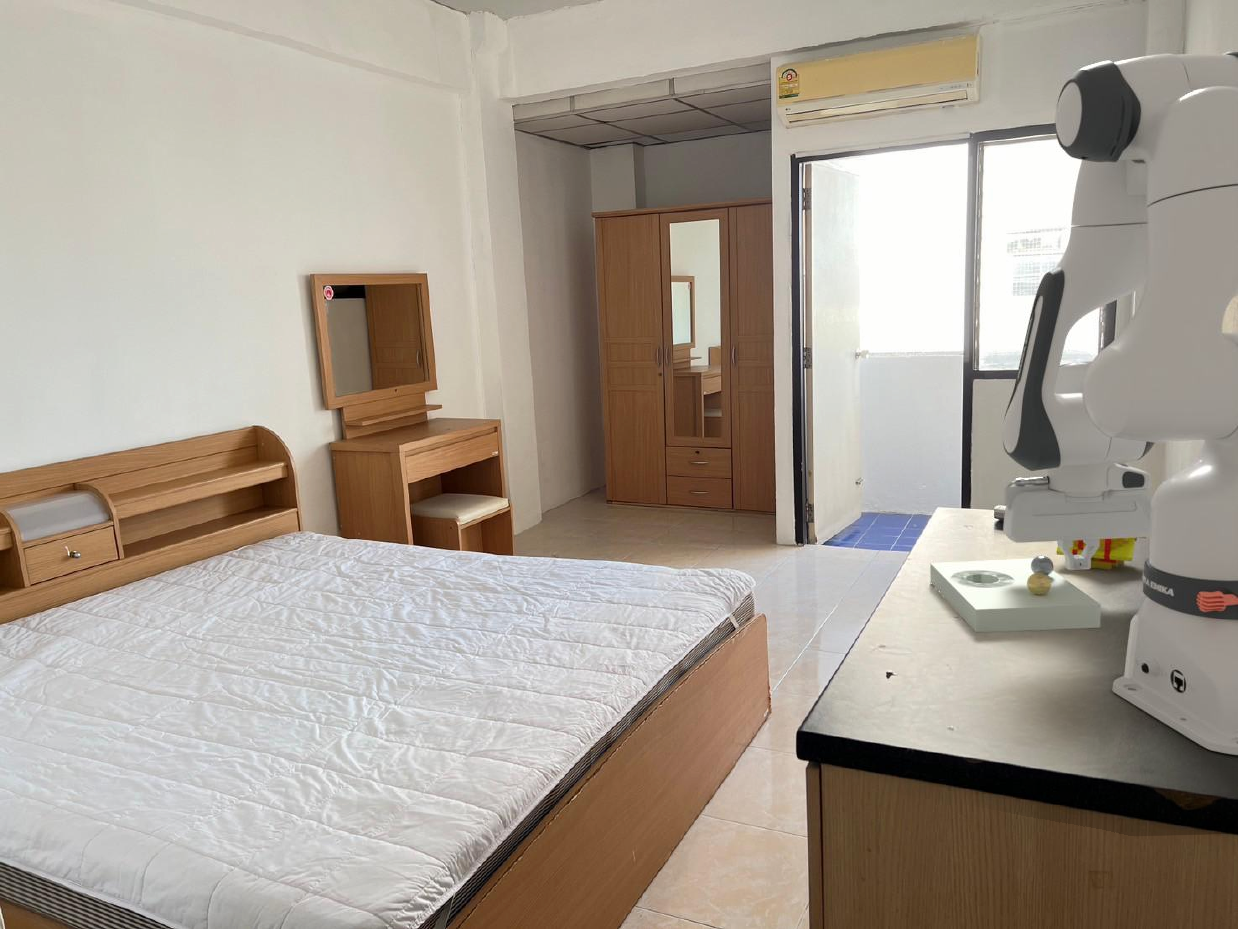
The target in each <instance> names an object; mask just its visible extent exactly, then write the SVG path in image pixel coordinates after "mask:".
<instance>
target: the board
mask: <svg viewBox="0 0 1238 929" xmlns="http://www.w3.org/2000/svg"><path fill="white" fill-rule="evenodd" d="M1034 558H1035V557H1032V558H1031V557H1030V558H1016V559H1015V558H1014V559H1009V558H1008V559H993V560H990V559H989V560H974V561H973V560H971V561H966V560H965V561H946V562H930V572H929V573H930V576H929V577H930V584H931V583H932V584H933V585H934V586H935V587H936V588H937V589H936V588H935V587H934V586H933V585H932V584H931V585H932V586H933V587H934V588H935V589H936V590H937V592H939V591H940V593H941V594H942V595H943V596H944V597H945V598H944V597H943V596H942V595H941V594H940V593H939V594H940V595H941V596H942V597H943V598H944V599H945V601H946V602H947V603H948V604H949V603H950V604H951V605H952V606H951V605H950V606H951V607H952V608H953V607H954V608H953V609H954V610H955V611H956V612H957V613H958V615H959V616H960V617H961V618H962V619H963V620H964V621H965V623H967V624H968V625H969V627H970V628H971V627H972V628H971V629H972V630H973V631H974V632H975V633H976V634H977V633H995V632H997V633H998V632H1017V631H1018V632H1021V631H1023V632H1024V631H1025V632H1026V631H1047V630H1071V629H1092V628H1093V629H1094V628H1095V629H1096V628H1097V629H1098V628H1101V611H1102V609H1101V607H1102V605H1101V604H1102V603H1100V602H1098V601H1097V600H1095V599H1093V598H1092V597H1091V596H1090V595H1088V594H1087V593H1086V592H1085V591H1083V590H1081V589H1080V588H1079V587H1077V586H1075V584H1073V583H1071V582H1070V581H1068V580H1067V579H1066V578H1064V577H1063V576H1061V575H1060V574H1058V573H1057V572H1056V571H1054V570H1053V571H1052V572H1051V574H1049V575H1048V576H1047V577H1048V578H1049V579H1050V581H1051V588H1050V590H1049V591H1048V592H1047V593H1046V594H1043V595H1036V594H1034V593H1032V592H1031V591H1030V590H1029V589H1028V587H1027V580H1028V578H1029V577H1030V576H1031V575H1032V574H1034V573H1033V571H1032V569H1031V562H1032V560H1033V559H1034Z"/></svg>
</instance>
